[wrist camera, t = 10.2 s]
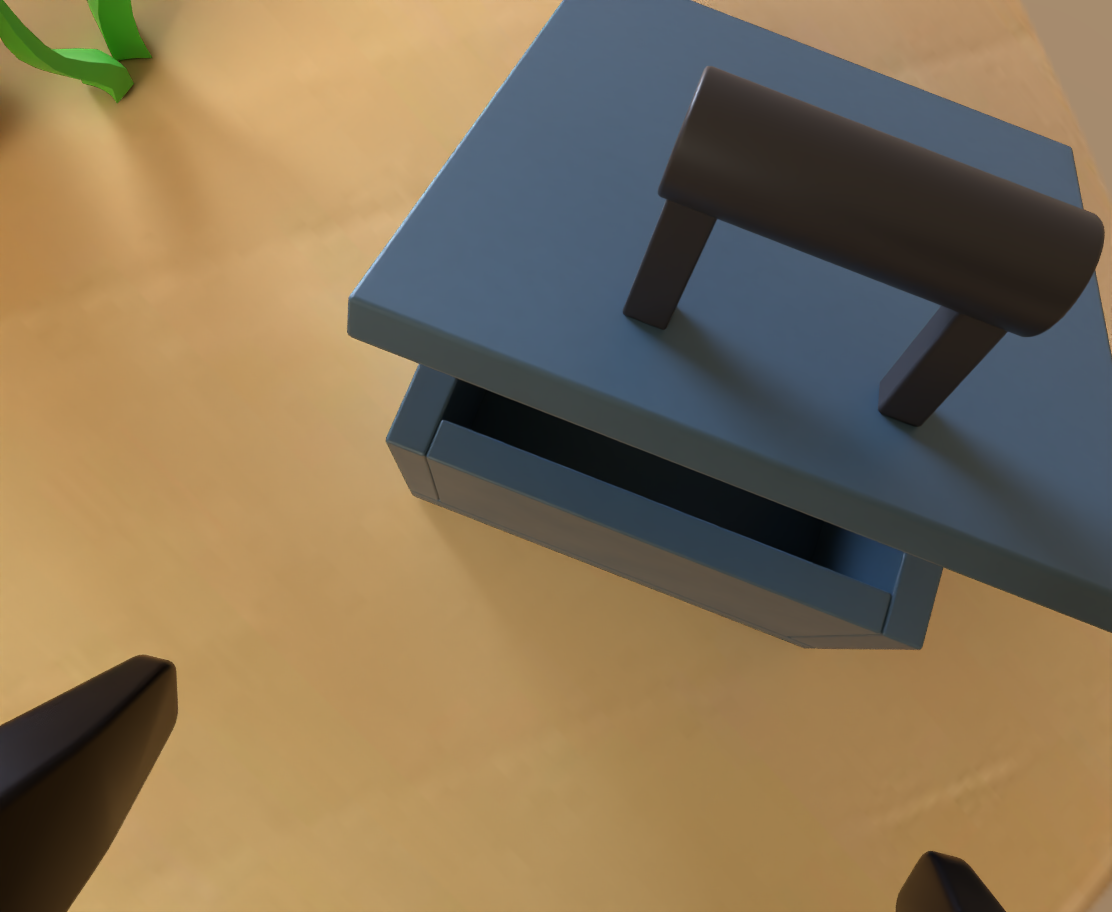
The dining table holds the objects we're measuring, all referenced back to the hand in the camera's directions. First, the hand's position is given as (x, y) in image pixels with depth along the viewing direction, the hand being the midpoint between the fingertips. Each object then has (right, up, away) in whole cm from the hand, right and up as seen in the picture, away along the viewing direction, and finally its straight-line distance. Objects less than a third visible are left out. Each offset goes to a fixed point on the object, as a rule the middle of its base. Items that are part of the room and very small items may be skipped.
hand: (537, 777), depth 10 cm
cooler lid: (+5, +8, +6) cm, 11 cm away
